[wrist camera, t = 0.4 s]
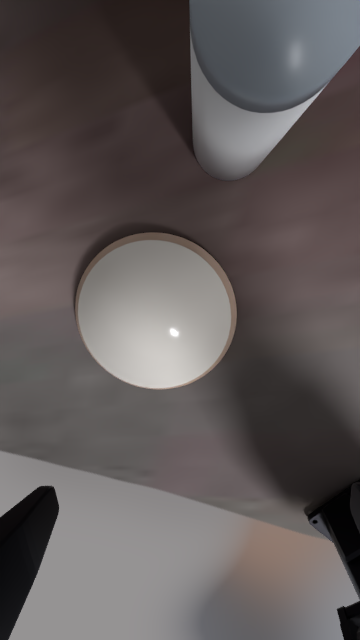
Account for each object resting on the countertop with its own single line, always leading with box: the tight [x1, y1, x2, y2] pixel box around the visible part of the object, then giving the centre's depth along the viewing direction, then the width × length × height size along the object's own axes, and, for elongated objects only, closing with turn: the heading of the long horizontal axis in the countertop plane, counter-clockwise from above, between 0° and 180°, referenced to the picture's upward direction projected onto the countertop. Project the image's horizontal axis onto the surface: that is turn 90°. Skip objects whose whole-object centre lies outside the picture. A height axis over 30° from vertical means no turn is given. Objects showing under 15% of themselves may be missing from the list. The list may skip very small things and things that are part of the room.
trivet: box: [75, 232, 237, 389], centre depth 20 cm, size 12×12×1 cm
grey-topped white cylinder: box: [189, 0, 360, 181], centre depth 12 cm, size 5×5×11 cm
